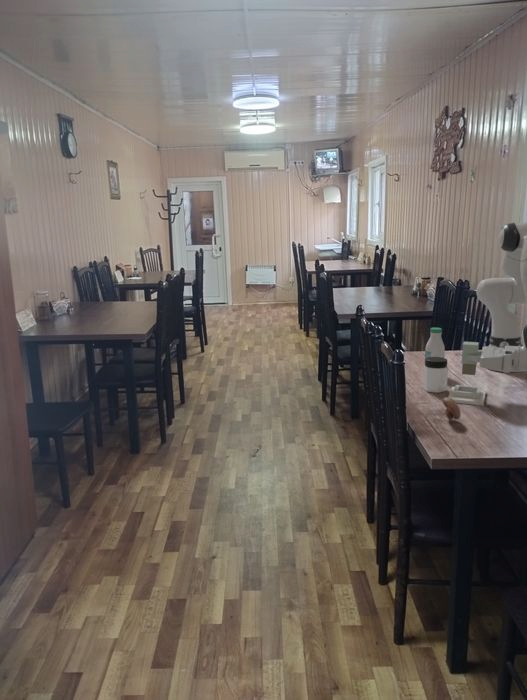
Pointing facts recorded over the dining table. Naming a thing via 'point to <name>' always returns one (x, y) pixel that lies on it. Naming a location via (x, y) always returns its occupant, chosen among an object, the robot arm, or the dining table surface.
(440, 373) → the jar
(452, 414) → the mushroom
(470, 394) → the socket
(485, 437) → the dining table surface
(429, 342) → the milk bottle
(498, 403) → the dining table surface
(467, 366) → the plug
